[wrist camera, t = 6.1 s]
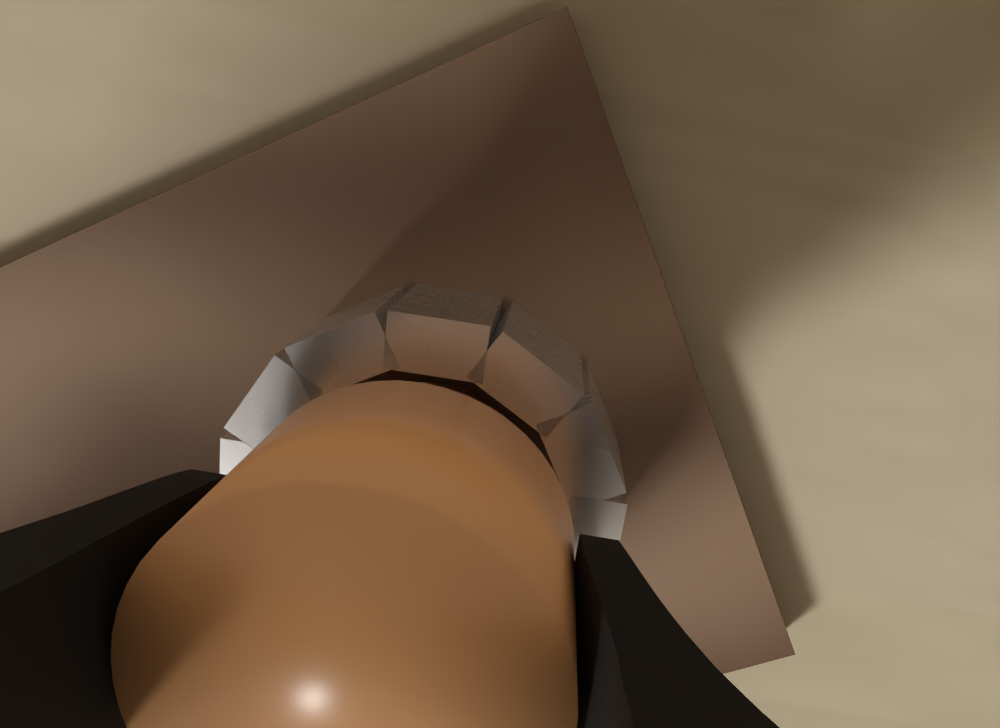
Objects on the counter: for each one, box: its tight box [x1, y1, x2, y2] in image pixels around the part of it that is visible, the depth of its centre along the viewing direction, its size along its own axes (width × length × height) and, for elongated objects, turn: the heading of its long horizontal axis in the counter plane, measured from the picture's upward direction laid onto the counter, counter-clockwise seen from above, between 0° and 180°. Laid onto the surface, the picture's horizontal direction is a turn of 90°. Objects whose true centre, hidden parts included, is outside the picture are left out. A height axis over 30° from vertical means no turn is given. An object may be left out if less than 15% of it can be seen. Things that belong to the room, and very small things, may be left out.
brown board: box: [0, 7, 795, 674], centre depth 16 cm, size 14×20×1 cm
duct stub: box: [220, 283, 628, 556], centre depth 14 cm, size 7×7×2 cm
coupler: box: [111, 380, 578, 728], centre depth 11 cm, size 6×6×6 cm
